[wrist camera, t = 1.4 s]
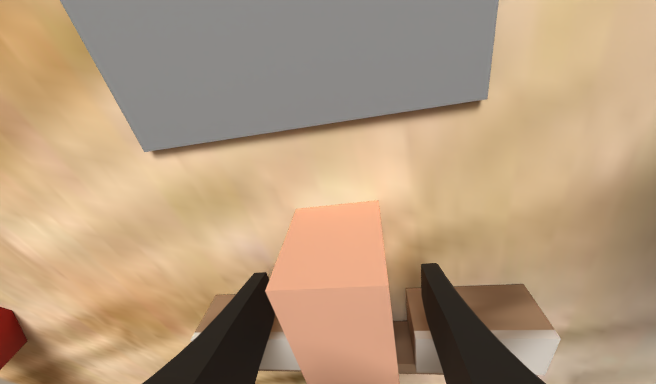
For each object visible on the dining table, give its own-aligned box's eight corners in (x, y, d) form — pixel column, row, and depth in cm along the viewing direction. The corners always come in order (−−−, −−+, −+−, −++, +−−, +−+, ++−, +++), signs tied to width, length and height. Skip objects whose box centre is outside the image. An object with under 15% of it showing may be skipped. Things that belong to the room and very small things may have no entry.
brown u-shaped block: (523, 284, 14) (560, 338, 11) (511, 330, 15) (540, 385, 13) (215, 295, 17) (190, 339, 14) (237, 332, 19) (218, 376, 16)
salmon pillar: (378, 198, 12) (388, 285, 8) (390, 308, 16) (402, 407, 12) (296, 207, 13) (265, 291, 8) (327, 310, 17) (316, 404, 12)
